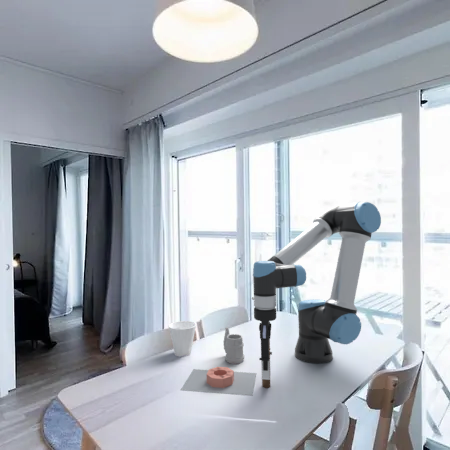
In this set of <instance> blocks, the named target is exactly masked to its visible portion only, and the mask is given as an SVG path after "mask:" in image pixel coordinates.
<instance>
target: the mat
mask: <svg viewBox="0 0 450 450" xmlns="http://www.w3.org/2000/svg"><path fill="white" fill-rule="evenodd" d="M208 370H209V369H199V368H198V369H197V368H193V369H192V371H191V373H190V374H189V375H188V377H187V379H186V380H185V382H184V384H183V385H182V387H181V389H180V391H183V392H184V391H187V392H198V393H199V392H200V393H210V394H223V395H224V394H225V395H238V396H239V395H240V396H251V397H253V395H254V390H255V385H256V380H257V372H243V371H234V381H233V384H232V385H230V386H227V387H225V388H217V387H212V386H210V385H209V384H208V383H207V372H208Z"/></svg>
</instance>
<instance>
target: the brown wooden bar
mask: <svg viewBox="0 0 450 450" xmlns="http://www.w3.org/2000/svg"><path fill="white" fill-rule="evenodd" d="M270 339H271V338H270ZM270 339H269V358H270V359H271V355H270V352H271V340H270ZM261 386H262V388H263V389H268V388H271V379H270V380H265V379H262V378H261Z"/></svg>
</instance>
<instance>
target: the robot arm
mask: <svg viewBox="0 0 450 450" xmlns="http://www.w3.org/2000/svg"><path fill="white" fill-rule="evenodd" d="M381 223H382V218H381V214H380V211H379V210H378V207H377V206H376V205H374V204H373V203H372V202H368V201H365V202H363V201H358V202H352V203H351V202H350V203H349V202H348V203H339V204H335V205H334V206H332V207H330V208H328V209H327V210H325V211H324V212H323V213H321V214H319V215H318V216H317V217H315V218H314V219H313V221H312V224H311V225H309V226H308V227H307V228H306V229H305V230H303V231H302V232H301V233H300V234H298V235H297V236H296V237H295V238H294V239H293V240H291V241H290V242H289V243H288V244H286V245H285V246H284V247H282V248H281V249H280V250H278V251H277V252H276V253H275V254H274V255H272V256H271V257H270V258H269V259H267V260H259V261H255V262H254V264H253V267H252V268H253V271H252V276H253V280H252V281H253V296H252V298H251V299H252V300H253V306H254V308H253V319H254V320H256V321H260V322H259V325H258V331H259V339H260V357H258V358H259V361H261V362H260V363H261V380H262V379H265V380H270V381H271V357H270V358H269V339H271V333H272V331H271V330H272V323H271V322H272V321H275V320H276V319H277V308H276V307H277V289H283V288H285V289H286V288H293V287H295V288H296V287H301V286H303V285H304V284H305V283H306V282H307V272H306V269H305V267H304V266H303V265H301V264H296V262H298V261H299V260H300V259H301V258H302V257H304V256H305V255H306V254H308V252H310V251H312V249H313V248H315V247H316V246H317V245H318V244H319V243H320V242H322V241H323V240H324V239H325V238H327V239H328V238H330V237H332V236H333V235H334V234H337V233H338V234H339V235H340V237H341V242H340V248H339V254H338V258H337V262H336V263H337V264H336V268H335V273H334V278H333V282H332V287H331V292H330V297H329V298H328V299H327V300H326V299H305V300H302V301H299V303H298V307H297V308H298V310H297V312H298V315H297V316H298V317H297V318H298V338H297V341H296V345H295V348H294V356H295V357H296V358H297V359H299V361H300V360H301V361H303V362H307V363H311V364H324V363H328V362H331V361H332V360H333V355H334V353H333V350H332V347H331V344H330V341H332V342H334V343H338V344H340V345H350V344H351V343H352V344H353V342H354V341H355V340H357V338H358V337H359V335H360V333H361V331H362V322H361V319H360V317H359V316H358V315H357V312H358V309H357V307H356V305H355V300H356V293H357V289H358V283H359V279H360V273H361V269H362V268H361V267H362V264H363V263H362V262H363V257H364V252H365V247H366V244H367V242H368V241H370V240H371V238H372V235H373V234H372V233H376V232H377V231H378V230H379V229H380V227H381ZM329 340H330V341H329ZM271 355H273V352H272V351H270V356H271Z"/></svg>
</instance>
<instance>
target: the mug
mask: <svg viewBox="0 0 450 450" xmlns="http://www.w3.org/2000/svg"><path fill="white" fill-rule="evenodd" d="M243 342H244V341H243V335H241V334H237V333H236V334H234V333H231V334H230V329H229V327H228V326H227V327H225V332H224V336H223V349H224V352H225V356H224V358H225V361H226V362H227V363H228V364H233V365H238V364H241V363H243V362H244V359H245V355H244V343H243Z"/></svg>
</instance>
